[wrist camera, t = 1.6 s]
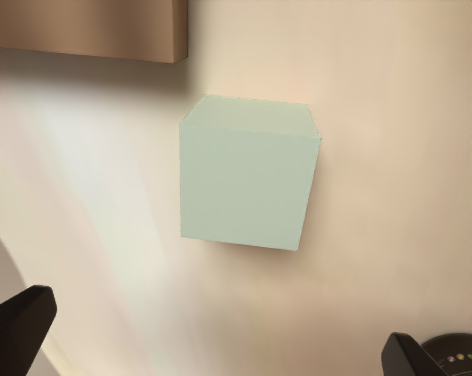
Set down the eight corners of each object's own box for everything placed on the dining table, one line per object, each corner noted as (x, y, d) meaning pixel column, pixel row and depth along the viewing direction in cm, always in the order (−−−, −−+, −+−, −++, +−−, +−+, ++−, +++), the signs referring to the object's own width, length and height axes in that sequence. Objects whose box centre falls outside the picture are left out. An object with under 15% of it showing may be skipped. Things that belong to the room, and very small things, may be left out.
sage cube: (306, 103, 18) (321, 138, 13) (290, 193, 21) (297, 251, 16) (204, 94, 19) (179, 123, 13) (202, 183, 22) (180, 237, 16)
